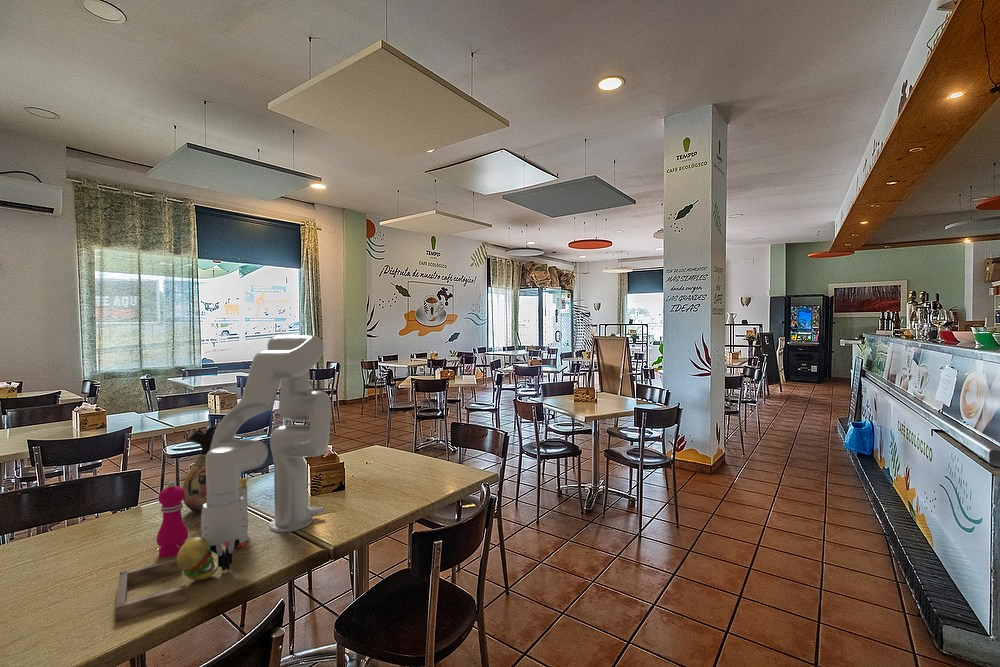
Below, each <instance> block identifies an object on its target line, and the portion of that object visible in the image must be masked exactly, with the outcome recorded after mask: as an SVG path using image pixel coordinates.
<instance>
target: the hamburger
mask: <svg viewBox="0 0 1000 667" xmlns="http://www.w3.org/2000/svg"><path fill="white" fill-rule="evenodd" d="M178 547H179V546H178ZM179 548H180V547H179ZM207 549H208V542H207V541H206V540H204V539H203V538H202V537H200V536H195V537H192V538H190V539H188V540H187V541H185V544H184V545H183V546H182V547H181V548H180V550H179V552H178V554H177V556H176V558H175V559H176V561H177V565H178V566H179V567H180V569H181V572H183V574H184V577H186V578H188V579H189V580H191V581H202V580H206V579H208V578H210V577H213V576H214V575H215V574H216V573H217V571H218V569H219V567H218V562H216V561H214V560H215V557H213V552H212V551H207Z"/></svg>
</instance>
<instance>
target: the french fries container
mask: <svg viewBox="0 0 1000 667" xmlns="http://www.w3.org/2000/svg"><path fill="white" fill-rule="evenodd" d="M240 487H241V488H247V489H248V486H247V477H243V478H241V479H240ZM241 497H243V499H244V503H245V509H246V516H247V531H248V529H249V528H248V527H249V523H248V522H249V521H248V519H249V517H248V515H249V514H248V513H249V511H248V508H249V507H248V505H249V504H248V492H247V493H244V494H242V496H241ZM245 543H246V541H244V542H242V543H239V544H238V545H237V547H236V548H235V549H239V548H244V547H245ZM223 545H224V547H225V549H226V548H227V542H226V543H223Z"/></svg>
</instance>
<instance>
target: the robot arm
mask: <svg viewBox="0 0 1000 667" xmlns="http://www.w3.org/2000/svg"><path fill="white" fill-rule="evenodd" d="M324 345H325V344H324V342H323V340H322V339H321V338H320V337H318V336H317V335H308V334H307V335H305V334H303V335H302V334H301V335H300V334H299V335H296V334H294V335H293V334H291V335H290V334H287V335H285V334H284V335H276V336H272V337H271V338H270V339H269V340H268V342H267V350H263V351H259V352H256V354H255V355H254V357H253V359H252V362H251V365H250V369H249V371H248V374H247V375H248V376H247V379H246V383H245V386H244V389H243V393H242V397H241V398H240V401H239V402H238V403H237V404H236V405H234V406H233V407H231V409H230V410H229V411H228V412H227V413H226V414H225V415H224V417H223V418H222V419H221V420H220V421H219V422H218V423H217V424H218V426H217V428H216V430H215V431H214V433H213V439H212V443H211V446H210V451H209V452H208V453H207V454H206V501H207V503H205V504H203V507H202V513H201V515H200V528H199V529H200V530H199V531H200V536H199V537H202V538H203V539H204V540H206V541H207V542H208V549H207V551H211V552H212V553H214V554H216V555H217V564H218V568H221V571H222V572H223V571H225V570H226V571H227V570H230V568H231V567H230V565H233V553H234V550H236V549H237V548H236V547H237V545H238V544H239V543H242V542H244V541H245V542H246V541H247V540H249V535H248V530H247V516H246V509H245V503H244V499H243V497H241V496H242V494H244V493H247V494H248V487H247V488H241V487H240V480H241V473H242V472H246V471H249V470H250V471H251V470H253V469H257V468H259V467H261V466H262V465H263V464H264V463H265V462H266V460H267V458H268V454H269V449H268V446H267V445H266V444H265V442H262V441H260V440H255V439H254V440H253V439H235V437H236V434H237V432H238V430H239V429H240V427H241V426H242V425H243V424H245V423H246V422H247V421H248V420H249V419H251V418H253V417H255V416H258V415H260V414H262V413H265V412H266V411H269V410H270V409H272V408H273V407H274V405H275V402H276V398H277V394H278V392H279V400H278V414H279V416H280V418H281V419H283V420H286V421H299V422H300V421H302V422H305V421H306V422H309V424H284V425H280V426H277V427H276V428H275V429H274V430H273V431H272V432H271V435H270V438H269V444H270V450H271V453H272V454H271V455H272V459H273V472H274V474H273V477H274V479H273V480H274V481H273V483H274V484H273V485H274V486H273V488H274V519H273V520H271V521H270V523H269V530H271V531H272V532H275V533H280V532H281V533H283V534H284V533H292V532H297V531H299V530H298V529H301V530H303V529H305V528H304V527H306V528H307V526H308V525H309V526H310V525H311V524H312V523H313V522H314V517H313V516H314V515H319V514H320V515H321V514H323V513H324V507H323V506H320V507H318V506H317V505H315V506H312V507H309V506H308V505H309V504H308V466H307V463H306V461H305V459H304V457H321V456H322V455H324V454H325V453H326V451H327V449H328V446H329V442H330V434H331V433H330V432H331V421H332V419H331V418H332V417H331V416H332V401H331V397H330V396H329V395H328V393H327V392H325V391H321V390H310V380H311V377H310V376H311V375H310V371H309V370H311V368H313V367H314V366H315V365H316V364H317V363H318V362H319V361H320V360H321V358H322V357H323V354H324V351H325V348H324V347H325V346H324ZM279 386H280V390H279ZM278 390H279V391H278ZM309 526H308V527H309ZM302 528H303V529H302ZM296 530H297V531H296ZM226 542H227V548H226V547H225V550H224V549H223V546H222V544H224V543H226Z"/></svg>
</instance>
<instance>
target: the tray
mask: <svg viewBox="0 0 1000 667" xmlns="http://www.w3.org/2000/svg"><path fill="white" fill-rule="evenodd" d="M176 559H177V558H173V559H170V560H169V559H168V560H166V561H165V560H164V561H162V562H157V563H152V564H148V565H145V566H141V567H137V568H133V569H129V570H124V571H121V572H119V576H118V577H119V578H118V586H117V594H116V603H115V622H120V621H123V620H126V619H129V618H133V617H137V616H139V615H143V614H147V613H149V612H150V613H151V612H153V611H156V610H161V609H164V608H166V607H170V606H174V605H176V604H180V603H184V602H187V586H186V585H187V584H184V585H181V586H178V587H174V588H170V589H167V590H163V591H159V592H155V593H151V594H148V595H145V596H142V597H138V598H135V599H131V600H127V599H128V587H129V586H130V585H131V586H132V585H135V584H138V583H142V582H146V581H150V580H154V579H158V578H161V577H165V576H168V575H169V576H170V575H173V574H176V573H181V572H182V571H181V569H180V567H179V566H178V565H177V561H176Z"/></svg>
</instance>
